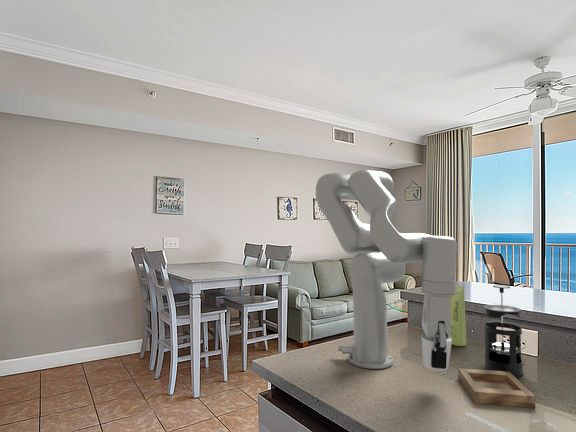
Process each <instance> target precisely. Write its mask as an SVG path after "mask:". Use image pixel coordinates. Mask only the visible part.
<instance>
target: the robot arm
mask: <svg viewBox="0 0 576 432" xmlns="http://www.w3.org/2000/svg"><path fill="white" fill-rule="evenodd" d="M394 187H395V183H394V180H393V178H392V177H391V176H390V174H388V173H386V172H384V171H380V170H379V171H378V170H371V169H370V170H369V169H359V170H355V172H353V173H352V174H349V173H339V172H331V173H330V172H329V173H325V174H323V175H322V176H320V177H319V178H318V180H317V181H316V186H315V199H316V202H317V205H318V207H319V209H320V211H321V212H322V214H323V216H324V217H325V218H326V219H327V221H328V222H329V224H330V226H331V229H332V230H333V233H334V235H335V237H336V238H337V240H338V243H339V245H340V247H341V248H342V249H343V250H344V252H345V253H347V254H348V255H349V254H350V255H355V256H353V257H352V258H351V260H350V263H349V266H348V267H349V269H348V270H349V276H350V280H351V281H350V282H351V286H352V298H353V299H352V302H353V305H352V306H353V309H352V310H353V313H352V314H353V341H352V344H351V343H350V344H349V345H345V344H338V352H341V353H342V355H343V354H344V355H345V354H348V362H349V363H351V364H352V365H354V366H356V367H359V368H362V369H363V368H364V369H369V370H370V369H371V370H372V369H374V370H378V369H379V370H381V369H387V368H390V367H391V366H392V365H393V364H394V359H393V356H391V355H390V354H388V308H387V304H388V301H387V296H386V293H385V292H384V290H383V287H382V285H383V284H390V283H397V282H398V281H401V280H402V279H403V278H404V275H405V274H406V264H407V263H421V264H422V265H421V267H422V268H421V269H422V271H421V293H422V294H424V296H423V305H422V308H423V309H422V320H421V328H422V330H423V331H424V334H426V335H427V336H428V337H429V338H431V337H433V350H432V355H431V366H432V367H433V368H441V369H446V359H447V346H446V343H447V340H446V339H449V338H450V331H451V297H453V296H455V285H456V284H457V283H456V280H457V279H456V277H457V257H458V255H457V254H458V253H457V252H458V251H457V250H458V243H457V240H456V239H455V238H454V237H452V236H448V235H447V236H445V235H431V234H427V233H422V232H399V231H398V230H397V229H396V228H395V227H394V226H393V223H391V221H390V218H391V217H392V215H393V214H394V213H395V212H396V210H397V208H398V207H397V206H398V202H397V200H396V199H395V197H394V196H393V195H392V193H393V192H394V189H395V188H394ZM345 200H346V201H348V200H349V201H357V202H358V203H359V204H360V206H361V207H362V209H363V210H364V211H365V213H366V214H367V215H368V217H369V218H370V220H369V223H363V222H361V221H360V220H359V218H358V216H356V213H355V211H353V209H352V208H351V207H350V206H349V205H348V204H347V203H346V202H344V201H345ZM435 334H436V335H439V337H435ZM436 340H439V342H437V344H436Z"/></svg>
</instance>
